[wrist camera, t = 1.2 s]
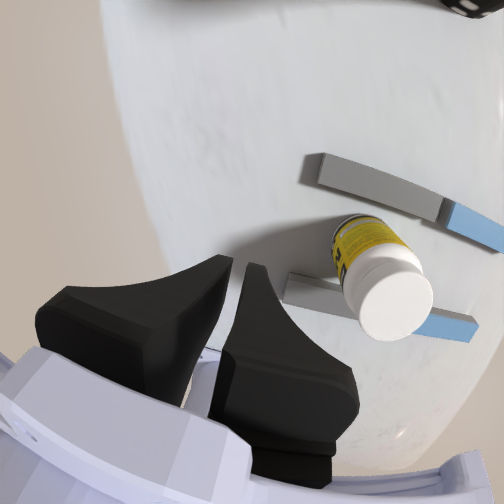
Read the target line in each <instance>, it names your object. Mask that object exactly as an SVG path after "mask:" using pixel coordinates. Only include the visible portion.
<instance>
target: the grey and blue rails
mask: <svg viewBox="0 0 504 504" xmlns="http://www.w3.org/2000/svg"><path fill="white" fill-rule="evenodd" d="M316 181H317V183H318V184H322V185H325V186H329V187H332V188H336V189H339V190H342V191H346V192H349V193H352V194H355V195H358V196H362V197H365V198H368V199H371V200H374V201H377V202H380V203H383V204H386V205H388V206H391V207H394V208H397V209H400V210H403V211H405V212H408V213H411V214H413V215H416V216H419V217H421V218H424V219H427V220H429V221H432V222H434V223H435V220H436V217H437V215H438V212H439V209H440V206H441V202H442V199H443V196H441V195H439V194H437V193H435V192H432V191H430V190H428V189H425V188H423V187H421V186H418V185H416V184H413V183H411V182H408V181H406V180H403V179H401V178H398V177H396V176H393V175H390V174H388V173H385V172H382V171H379V170H377V169H374V168H371V167H368V166H365V165H362V164H359V163H356V162H353V161H350V160H347V159H344V158H341V157H337V156H334V155H331V154H327V153H324V154H323V158H322V162H321V165H320V169H319V173H318V177H317V180H316ZM438 223H440V224H441V225H443V226H444V227H446V228H447V229H450V230H452V231H455V232H457V233H459V234H462V235H464V236H466V237H469V238H471V239H473V240H475V241H478V242H480V243H482V244H484V245H486V246H488V247H491V248H493V249H495V250H497V251H499V252H501V253H503V254H504V227H503V226H501V225H499V224H497V223H495V222H494V221H492V220H490V219H488V218H486V217H484V216H482V215H481V214H479V213H477V212H475V211H473V210H471V209H469V208H467V207H465V206H463V205H461V204H459V203H456V202H454V201H452V200H450V199H448V198H445V201H444V204H443V207H442V210H441V213H440V216H439V219H438ZM282 303H285V304H289V305H293V306H297V307H301V308H306V309H310V310H314V311H319V312H323V313H328V314H332V315H337V316H341V317H346V318H350V319H355V320H358V318H357V317H356V314H355V313H354V312H353V311H352V310H351V309H350V308H349V306H348V305H347V303H346V300H345V298H344V295H343V291H342V287H341V285H339V284H334V283H330V282H326V281H322V280H318V279H314V278H310V277H306V276H302V275H298V274H294V273H289V277H288V280H287V283H286V286H285V289H284V292H283V298H282ZM478 327H479V325H478V323H477V322H476V321H475V319H474V318H473V317H472V316H468V315H464V314H459V313H455V312H451V311H447V310H442V309H438V308H434V307H431V310H430V313H429V315H428V316H427V318H426V320H425V321H424V322H423V324H422V325H421V326H420V327H419V328H418V329H416V330H415V331H414V332H412V333H413V334H418V335H424V336H430V337H436V338H442V339H448V340H455V341H461V342H468V343H469V341H470V340H471V338H472V337H473V335H474V334H475V332H476V330H477V329H478Z"/></svg>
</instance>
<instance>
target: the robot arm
mask: <svg viewBox="0 0 504 504" xmlns="http://www.w3.org/2000/svg"><path fill="white" fill-rule="evenodd" d="M232 263H233V258H231V257H227V256H223V255H219V254H218V255H215V256H213V257H211V258H209V259H207V260H205V261H203V262H201V263H199V264H197V265H195V266H193V267H191V268H188V269H186V270H183V271H181V272H178V273H176V274H173V275H171V276H168V277H164V278H161V279H157V280H154V281H149V282H144V283H138V284H132V285H125V286H115V287H77V286H66V287H65V288H63V289H62V290H61V291H60V292H58V293H57V294H56V295H55V296H54V297H52V298H51V299H50V300H49V301H48V302H47V303H45V304H44V305H43V306H42V307H41V308H39V309H38V311H37V313H36V315H35V328H36V332H37V337H38V340H39V343H40V346H41V347H37V346H33V347H32V348H31V349H30V350H28V351H27V352H26V353H25V354H24V355H23V356H22V357H21V358H20V359H19V360H18V362H17V363H16V364H15V363H13V362H12V361H11V360H9V359H8V358H7V357H6V356H4V355H3V354H2V353H1V352H0V504H495V502H494V497H493V493H492V489H491V485H490V482H489V478H488V474H487V471H486V468H485V464H484V461H483V458H482V456H481V452H480V450H474V451H470V452H466V453H461V454H458V455H456V456H454V457H452V458H450V459H449V460H447V461H446V462H445V463H444V464H443V465H441V467H440V468H435V469H429V470H423V471H417V472H409V473H402V474H391V475H376V476H332V457H333V456H334V455H335V454H336V440H337V439H338V438H339V437H340V436H341V435H342V434H343V433H344V431H345V430H346V429H347V428H348V427H349V426H350V425H351V424H352V422H353V421H354V420H355V418H356V417H357V415H358V413H359V407H360V402H359V396H358V390H357V386H356V382H355V378H354V375H353V372H352V369H351V368H350V367H349V366H347V365H345V364H344V363H342V362H341V361H339V360H338V359H336V358H334V357H333V356H331V355H330V354H328V353H327V352H326V351H324V350H323V349H322V348H321V347H319V346H318V345H317V344H316V343H314V342H313V341H312V340H311V339H310V338H309V337H308V336H307V335H306V334H305V333H304V332H303V331H302V330H301V329H300V328H299V327H298V326H297V325H296V324H295V323H294V322H293V320H292V319H291V318H290V317H289V315H288V314H287V313H286V311H285V310H284V308H283V307H282V305H281V303H280V302H279V300H278V298H277V296H276V294H275V292H274V289H273V287H272V285H271V282H270V280H269V277H268V274H267V269H266V268H265V266H262V265H258V264H254V263H250V262H249V263H248V265H247V268H246V272H245V277H244V281H243V285H242V289H241V294H240V298H239V302H238V306H237V311H236V315H235V319H234V323H233V326H232V328H231V331H230V333H229V335H228V338H227V340H226V342H225V344H224V346H223V348H222V353H221V352H218V351H214V350H211V349H207V348H204V347H205V345H206V343H207V341H208V339H209V337H210V335H211V333H212V331H213V329H214V328H215V326H216V324H217V321H218V319H219V316H220V313H221V310H222V307H223V305H224V302H225V297H226V292H227V287H228V282H229V277H230V272H231V267H232ZM200 355H202V356H200ZM192 373H193V377H192V386H191V390H190V393H189V395H188V398H187V400H186V403H185V405H184V408H183V409H182V408H180V406H181V403H182V400H183V398H184V395H185V392H186V389H187V386H188V384H189V381H190V378H191V375H192Z"/></svg>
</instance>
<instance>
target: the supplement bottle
mask: <svg viewBox="0 0 504 504" xmlns="http://www.w3.org/2000/svg"><path fill="white" fill-rule="evenodd" d="M331 254H332V258H333V261H334V264H335V267H336V271H337V274H338V277H339V281H340V284H341V287H342V291H343V295H344V298H345V300H346V303H347V305H348V306H349V308H350V309H351V310H352V311H353V312H354V313H355V314H356V317H357V318H358V321H359V324H360V326H361V328H362V330H363V331H364V332H365V333H366V334H367V335H368V336H369V337H371V338H373V339H376V340H380V341H394V340H398V339H401V338H404V337H406V336H408V335H409V334H411V333H412V332H414V331H415V330H416V329H418V328H419V327H420V326H421V325H422V324H423V322H424V321H425V320H426V318H427V316H428V315H429V313H430V310H431V307H432V303H433V292H432V288H431V285H430V283H429V282H428V280H427V279H426V277H425V276H424V275H423V272H422V267H421V264H420V262H419V260H418V258H417V257H416V255H415V254H414V253H413V251H412V250H411V249H410V248H409V247H408V246H407V245H406V244H405V243H404V242H403V241H402V240H401V239H400V238H399V237H398V236H397V235H396V234H395V233H394V232H393V231H392V230H391V229H390V227H389V226H388V225H387V224H386V223H384V222H383V221H382V220H381V219H379V218H378V217H376V216H373V215H369V214H359V215H355V216H352V217H350V218H348V219H346V220H345V221H344V222H342V223H341V224H340V225H339V226H338V228H337V229H336V231H335V233H334V235H333V237H332V241H331Z"/></svg>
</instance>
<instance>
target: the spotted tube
mask: <svg viewBox="0 0 504 504" xmlns="http://www.w3.org/2000/svg"><path fill="white" fill-rule="evenodd" d="M439 1H441V2H442V3H443V4H445V5H446V6H447V7H449V8H450V9H452V10H454V11H455V12H457V13H459V14H461V15H464V16H466V17H469V18H475V19H479V18H483V17H485V16H487V15H489V14H491V13H493V12H495V11H497V10H500V9H502V8H504V0H439Z"/></svg>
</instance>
